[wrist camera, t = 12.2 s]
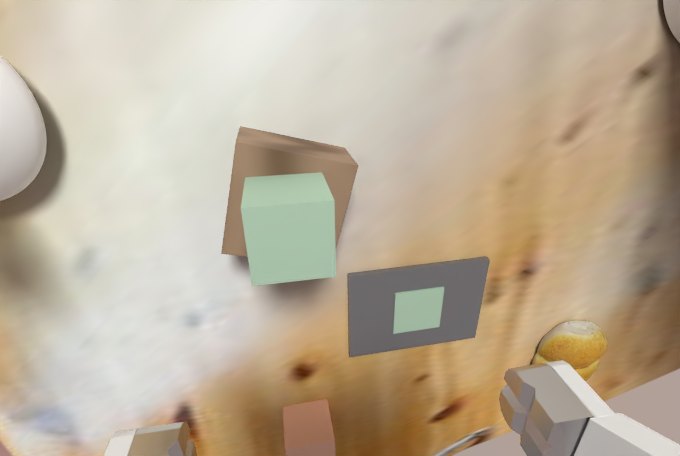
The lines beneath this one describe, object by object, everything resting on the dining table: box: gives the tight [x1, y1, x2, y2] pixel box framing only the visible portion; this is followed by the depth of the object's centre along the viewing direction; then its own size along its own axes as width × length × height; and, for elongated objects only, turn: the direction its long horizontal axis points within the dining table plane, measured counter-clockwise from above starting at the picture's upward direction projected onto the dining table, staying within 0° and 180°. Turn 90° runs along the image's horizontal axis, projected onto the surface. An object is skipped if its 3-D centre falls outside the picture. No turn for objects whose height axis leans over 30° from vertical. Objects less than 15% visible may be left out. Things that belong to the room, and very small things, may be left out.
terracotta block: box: [283, 399, 336, 456], centre depth 40 cm, size 5×5×5 cm
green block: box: [241, 172, 336, 286], centre depth 23 cm, size 5×5×5 cm
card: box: [348, 257, 490, 357], centre depth 37 cm, size 14×10×1 cm
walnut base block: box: [221, 126, 358, 257], centre depth 28 cm, size 8×8×5 cm
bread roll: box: [532, 320, 608, 381], centre depth 44 cm, size 8×9×4 cm
